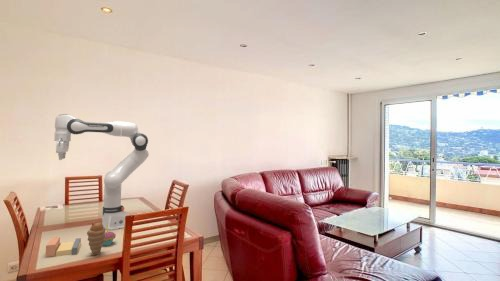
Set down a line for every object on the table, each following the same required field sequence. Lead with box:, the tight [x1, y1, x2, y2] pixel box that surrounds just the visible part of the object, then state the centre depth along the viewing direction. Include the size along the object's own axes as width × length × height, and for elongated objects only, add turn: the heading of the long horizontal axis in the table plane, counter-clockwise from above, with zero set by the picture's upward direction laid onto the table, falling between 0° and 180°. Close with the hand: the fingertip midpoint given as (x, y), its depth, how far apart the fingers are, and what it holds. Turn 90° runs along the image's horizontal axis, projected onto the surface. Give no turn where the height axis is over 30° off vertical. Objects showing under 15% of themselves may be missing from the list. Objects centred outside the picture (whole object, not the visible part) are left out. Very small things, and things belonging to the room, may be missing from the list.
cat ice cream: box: [86, 219, 106, 256], centre depth 144 cm, size 9×8×18 cm
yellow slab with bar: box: [55, 237, 82, 257], centre depth 148 cm, size 10×15×4 cm
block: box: [45, 236, 61, 258], centre depth 144 cm, size 4×12×6 cm, turn 26°
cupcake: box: [103, 224, 117, 247], centre depth 158 cm, size 9×8×12 cm
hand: (62, 159), depth 176 cm, fingers open, 8 cm apart
